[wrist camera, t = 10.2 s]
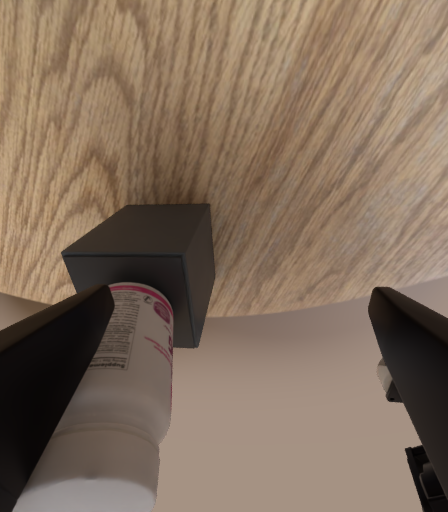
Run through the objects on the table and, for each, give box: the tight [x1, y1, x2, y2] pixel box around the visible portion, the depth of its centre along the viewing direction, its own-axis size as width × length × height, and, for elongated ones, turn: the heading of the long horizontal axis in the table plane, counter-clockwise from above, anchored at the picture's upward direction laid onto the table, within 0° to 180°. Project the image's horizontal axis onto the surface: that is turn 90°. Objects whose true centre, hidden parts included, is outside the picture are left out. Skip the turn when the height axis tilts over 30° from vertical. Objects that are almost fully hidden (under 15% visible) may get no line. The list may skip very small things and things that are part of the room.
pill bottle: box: [12, 282, 173, 512], centre depth 11 cm, size 5×5×8 cm
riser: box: [61, 204, 215, 348], centre depth 19 cm, size 7×7×8 cm
